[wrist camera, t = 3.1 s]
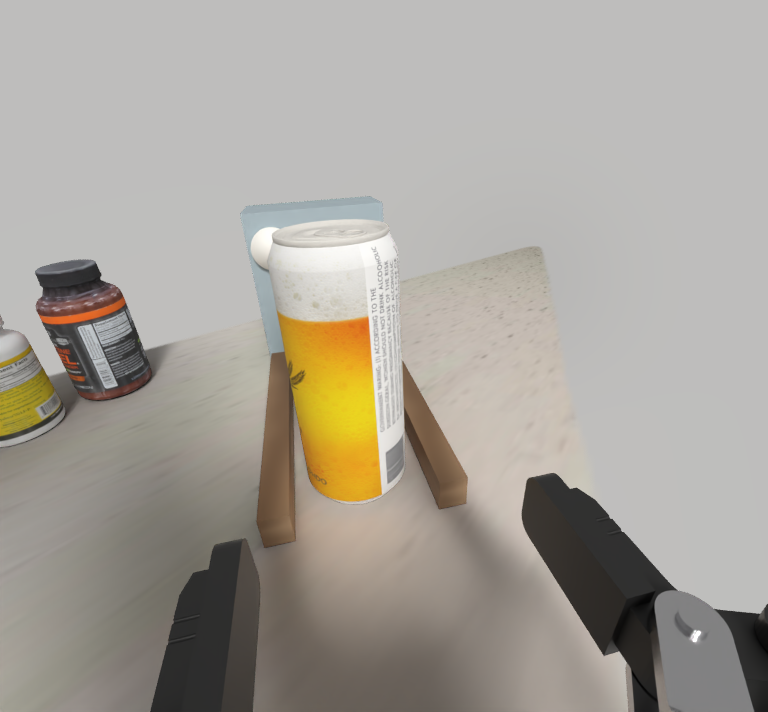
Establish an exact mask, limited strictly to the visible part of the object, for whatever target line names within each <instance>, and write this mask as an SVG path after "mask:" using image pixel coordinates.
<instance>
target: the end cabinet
mask: <svg viewBox="0 0 768 712" xmlns="http://www.w3.org/2000/svg"><path fill="white" fill-rule="evenodd" d="M240 216H241V221H242V226H243V230H244V235H245V239H246V244H247V249H248V254H249V258H250V263H251V268H252V272H253V277H254V282H255V286H256V291H257V295H258V300H259V305H260V309H261V314H262V319H263V324H264V328H265V333H266V338H267V342H268V347H269V352H270V356H271V353H277V352H284V346H283V341H282V335H281V330H280V325H279V320H278V315H277V310H276V304H275V299H274V294H273V289H272V284H271V279H270V273H269V268H268V263H267V260H268V256H269V253H270V249H271V245H272V242H273V240H272V233H273V232H275V231H277V230H279V229H281V228H284V227H288V226H292V225H297V224H302V223H309V222H316V221H326V220H342V219H364V220H375V221H381V222H383V204H382V202H380V201H378V200H376V199H374V198H372V197H370V196H367V197H355V198H342V199H330V200H317V201H304V202H291V203H279V204H267V205H253V206H246V208H245V209H244V210H243V211H242V212H241V213H240Z"/></svg>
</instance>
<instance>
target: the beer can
mask: <svg viewBox="0 0 768 712" xmlns="http://www.w3.org/2000/svg"><path fill="white" fill-rule="evenodd" d="M272 240H273V242H272V245H271V249H270V253H269V256H268V260H267V263H268V268H269V273H270V279H271V284H272V289H273V294H274V299H275V304H276V310H277V315H278V320H279V325H280V330H281V335H282V341H283V346H284V351H285V356H286V361H287V366H288V372H289V377H290V382H291V387H292V392H293V397H294V403H295V408H296V413H297V418H298V423H299V428H300V433H301V439H302V444H303V449H304V454H305V459H306V464H307V470H308V475H309V479H310V481H311V483H312V485H313V486H314V487H315V489H316V490H317V491H319V492H320V493H321V494H323V495H324V496H326V497H328V498H331V499H333V500H335V501H337V502H340V503H344V504H353V505H354V504H364V503H368V502H371V501H374V500H376V499H378V498H380V497H382V496H383V495H385V494H386V493H387V492H388V491H389V490H390V489H392V488H393V487H394V486H395V485H396V484H397V483H398V482H399V480H400V479H401V477H402V475H403V473H404V470H405V466H406V457H405V428H404V398H403V369H402V340H401V311H400V281H399V252H398V248H397V246H396V244H395V243H394V241H393V239H392V237H391V235H390V233H389V226H388V224H386V223H384V222H381V221H375V220H364V219H342V220H326V221H316V222H309V223H302V224H297V225H292V226H288V227H284V228H281V229H279V230H277V231H275V232H273V233H272Z"/></svg>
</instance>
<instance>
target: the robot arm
mask: <svg viewBox="0 0 768 712" xmlns="http://www.w3.org/2000/svg"><path fill="white" fill-rule="evenodd" d="M522 521H523V525H524V528H525V530H526V533H527V535H528V536H529V538H530V539H531V541H532V543H533V544H534V546H535V547H536V549H537V551H538V552H539V554H540V555H541V557H542V558H543V560H544V562H545V563H546V565H547V566H548V568H549V570H550V571H551V573H552V574H553V576H554V578H555V579H556V581H557V582H558V584H559V585H560V587H561V589H562V590H563V592H564V593H565V595H566V597H567V598H568V600H569V601H570V603H571V604H572V606H573V608H574V609H575V611H576V612H577V614H578V616H579V617H580V619H581V620H582V622H583V623H584V625H585V627H586V628H587V630H588V631H589V633H590V635H591V636H592V638H593V639H594V641H595V642H596V644H597V646H598V647H599V649H600V650H601V652H602V654H603V655H604V656H605V655H608V654H612V653H615V652H618V651H620V653H621V654H622V656H623V657H624V659H625V660H626V662H627V664H626V684H627V699H628V712H768V604H767V605H766V607H765V608H764V610H763V611H762V613H761V614H756V613H745V612H735V611H725V610H717V609H713V608H712V607H711V606H709V605H708V604H707V603H705V602H704V601H702V600H701V599H699V598H697V597H695V596H693V595H691V594H688V593H685V592H681V591H678V590H676V589H675V588H674V587H673V586H672V585H671V584H670V583H669V582H668V581H667V580H666V579H665V578H664V577H663V575H662V574H661V573H660V572H659V571H658V570H657V569H656V567H655V566H654V565H653V564H652V563H651V562H650V561H649V560H648V559H647V558H646V556H645V555H644V554H643V553H642V552H641V551H640V550H639V548H638V547H637V546H636V545H635V544H634V543H633V542H632V541H631V539H630V538H629V537H628V536H627V535H626V534H625V533H624V532H622V531H621V528H620V527H619V526H618V525H617V524H616V523H615V522H614V520H613V519H610V518H609V515H608V514H607V513H606V511H605V510H604V509H603V508H602V507H601V506H600V505H599V504H598V503H597V501H596V500H595V499H593V498H592V497H590V496H589V495H587V494H585V493H584V492H582V491H581V490H579V489H578V488H573V489H569V487H568V486H567V485H566V484H565V483H564V482H563V480H562V479H561V478H560V477H559V476H558V475H557V474H555V473H550V474H545V475H541V476H536V477H531V478H529V479H528V480H527V483H526V489H525V495H524V501H523V508H522ZM259 607H260V583H259V576H258V572H257V569H256V566H255V563H254V560H253V557H252V554H251V551H250V548H249V545H248V542H247V540H246V539H245V538H244V539H239V540H234V541H230V542H225V543H220V544H216V545H215V546H214V548H213V551H212V555H211V560H210V565H209V569H208V570H203V571H199V572H195V573H193V574H192V576H191V578H190V579H189V581H188V583H187V584H186V586H185V587H184V589H183V591H182V592H181V594H180V595H179V599H178V603H177V607H176V611H175V615H174V619H173V620H174V624H172V627H171V631H170V635H169V639H168V641H169V643H168V645H167V647H166V651H165V655H164V659H163V663H162V667H161V671H160V675H159V679H158V683H157V687H156V691H155V695H154V699H153V703H152V707H151V711H150V712H253V697H254V682H255V667H256V652H257V637H258V622H259Z"/></svg>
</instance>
